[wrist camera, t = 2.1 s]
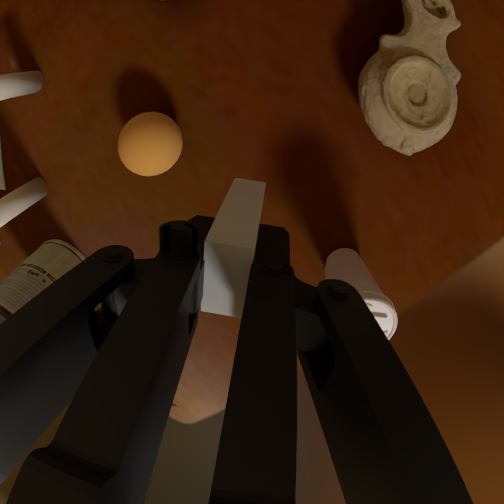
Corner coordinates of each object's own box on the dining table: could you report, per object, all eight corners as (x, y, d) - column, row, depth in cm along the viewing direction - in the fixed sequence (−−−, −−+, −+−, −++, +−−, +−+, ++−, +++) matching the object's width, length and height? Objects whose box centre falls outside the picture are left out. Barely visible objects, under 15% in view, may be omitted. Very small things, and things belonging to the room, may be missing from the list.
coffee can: (110, 300, 37) (59, 383, 25) (60, 305, 39) (10, 374, 27) (75, 230, 32) (0, 304, 20) (27, 245, 34) (-38, 308, 22)
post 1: (44, 68, 23) (-17, 77, 15) (43, 91, 24) (-18, 105, 16) (28, 72, 23) (-32, 82, 15) (27, 93, 24) (-32, 108, 16)
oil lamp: (431, -4, 17) (456, -16, 12) (461, 138, 23) (489, 151, 19) (322, 1, 19) (330, -16, 15) (362, 153, 26) (378, 168, 21)
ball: (192, 110, 25) (171, 117, 20) (188, 169, 28) (168, 188, 23) (136, 107, 25) (106, 115, 20) (134, 163, 28) (106, 181, 23)
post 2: (46, 177, 29) (-7, 209, 21) (48, 198, 30) (-2, 234, 23) (31, 176, 29) (-21, 207, 21) (34, 196, 31) (-15, 230, 23)
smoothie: (382, 270, 31) (421, 375, 19) (330, 298, 33) (345, 407, 21) (356, 224, 29) (397, 325, 17) (300, 256, 31) (305, 367, 19)
